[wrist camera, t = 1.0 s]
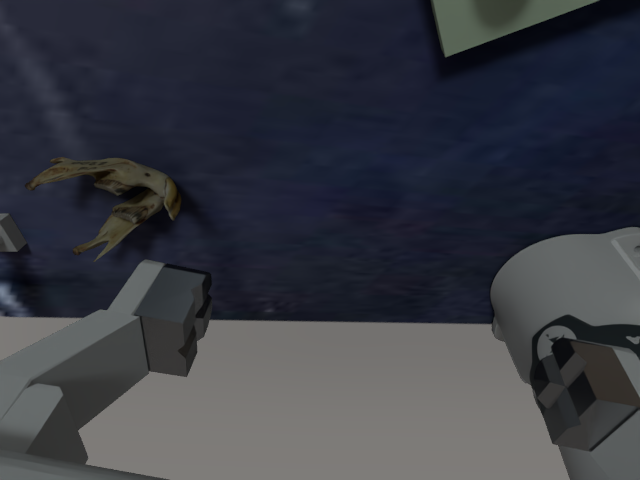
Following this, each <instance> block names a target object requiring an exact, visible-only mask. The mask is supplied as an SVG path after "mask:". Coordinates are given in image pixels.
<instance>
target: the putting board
mask: <svg viewBox="0 0 640 480" xmlns="http://www.w3.org/2000/svg"><path fill="white" fill-rule="evenodd" d="M430 1H431V5H432V10H433V14H434V19H435V23H436V28H437V32H438V37H439V41H440V46H441V50H442V51H443V53H444V55H445V57H448V56H450V55H453V54H456V53H458V52H461V51H464V50H467V49H469V48H472V47H475V46H477V45H480V44H483V43H485V42H488V41H491V40H494V39H496V38H499V37H502V36H504V35H507V34H510V33H513V32H515V31H518V30H521V29H523V28H526V27H529V26H531V25H534V24H537V23H540V22H542V21H545V20H548V19H550V18H553V17H556V16H559V15H561V14H564V13H567V12H569V11H572V10H575V9H577V8H580V7H583V6H586V5H588V4H591V3H594V2H596V1H599V0H430Z"/></svg>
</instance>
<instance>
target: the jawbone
mask: <svg viewBox="0 0 640 480" xmlns="http://www.w3.org/2000/svg"><path fill="white" fill-rule="evenodd" d="M50 162H51V163H58V164H56V165H54V166H52V167H51V168H49V169H47V170H45V171H43V172H42V173H40V174H39V175H38V176H36V177H34V178H33V180H31V181H30V182H29V183H26V185H25V187H26V188H27V189H28V190H35V187H37V186H39V185H40V184H44V183H50V182H55V181H60V180H64V179H68V178H73V177H77V176H81V175H85V174H86V175H91V176H93V177H94V178H95V179H96V182H95V183H94V185H95V187H96V188H99V189H104V190H107V191H109V192H111V193H114V194H115V195H117V196H118V195H121V194H123V193H125V192H127V191H128V190H130V189H131V188H133V187H136V186H145V187H148V188H147V189H146V190H145V191H143V192H142V193H140V194H138V195H137V196H135V197H134V198H132V199H130V200H129V201H126V202H124V203H122V204H119V205H116V206H115V207H113V211H112V215H111V216H110V217H109V218H108V219H107V221H106V222H105V224H104V225H103V227H102V228H101V229H100V230H99V235H98V236H97V237H96V238H95V239H94V240H92V241H90V242H88V243H85V244H82V245H79V246H77V247H75V248H74V249H73V253H74V254H75V255H79V254H80V253H81V252H84V251H86V250H89V249H93V248H95V247H97V246H100V245H102V244H104V243H106V242H108V241H109V243H108V245H107V246H106V248H105V249H104V250H103V251H102V252H101V253H100V254H99V255H98V257H97V258H96V260H97V259H98V258H100V257H101V256H102V255H104V254H105V253H107V252H108V251H109V250H111V249H112V248H113V247H115V246H116V245H118V244H119V243H120V242H121V241H122V240H123V238H125V237H126V236H127V235H128V234H129V233H130V232H131V231H132V230H133V229H134V228H136V227H137V226H139V225H140V224H141V223H143V222H144V221H145V220H147V219H148V218H149V217H150V216H152V215H154V214H155V213H157V212H159V211H160V210H161V209H162V207H163V206H164V205H165V207H166V209H167V210H168V212H169V216H170V218H171V219H172V220H175V217H176V216H177V214H178V212H179V210H180V205H181V195H180V193H179V192H178V190H177V188H176V186H175V184H174V182H173V180H172V179H171V178H170V177H169V176H167V175H166V174H164V173H162V172H160V171H158V170H155V169H153V168H150V167H147V166H144V165H141V164H138V163H136V162H133V161H130V160H127V159H122V158H108V159H104V160H89V161H75V160H71V159H68V158H64V157H61V158H56V159H52V160H50ZM57 177H59V178H57ZM54 178H57V179H54ZM51 179H53V180H51ZM48 180H49V181H48ZM45 181H46V182H45ZM96 260H94V262H95V261H96Z"/></svg>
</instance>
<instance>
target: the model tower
mask: <svg viewBox="0 0 640 480" xmlns="http://www.w3.org/2000/svg"><path fill="white" fill-rule="evenodd" d="M26 243H27V242H26V240H25V239H24V237H23V235H22V234H21V232H20V231H19V229H18V227H17V226H16V224H15V222H14V221H13V219H12V217H11V216H10V214H0V252H18V251H19V250H20V249H21V248H22V247H23V246H24V245H25V244H26Z"/></svg>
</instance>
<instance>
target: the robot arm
mask: <svg viewBox="0 0 640 480" xmlns="http://www.w3.org/2000/svg"><path fill="white" fill-rule="evenodd" d="M637 246H638V247H637ZM635 247H636V248H635ZM211 285H212V280H211V274H210V273H209V272H206V271H201V270H196V269H191V268H186V267H182V266H177V265H172V264H165V263H160V262H156V261H151V260H144V261H142V262H141V263H140V264H139V265H138V266H137V268H136V269H135V271H134V272H133V274H132V275H131V277H130V278H129V279H128V281H127V282H126V284H125V285H124V287H123V288H122V290H121V291H120V292H119V294H118V295H117V297H116V298H115V300H114V301H113V303H112V304H111V305H110V307H109V308H108V310H98V311H96V312H94V313H92V314H90V315H88V316H87V317H85V318H83V319H81V320H79V321H77V322H75V323H73V324H71V325H69V326H67V327H65V328H63V329H61V330H59V331H57V332H56V333H54V334H52V335H50V336H48V337H46V338H44V339H42V340H40V341H38V342H36V343H34V344H32V345H30V346H28V347H26V348H24V349H22V350H20V351H18V352H17V353H15V354H13V355H11V356H9V357H7V358H5V359H3V360H1V361H0V480H168V479H163V478H157V477H152V476H146V475H141V474H135V473H129V472H123V471H118V470H113V469H107V468H102V467H96V466H91V465H85V463H86V461H87V460H88V456H87V453H86V450H85V447H84V445H83V442H82V440H81V437H80V435H79V432H78V430H79V429H80V428H81V427H83V426H84V425H85V424H87V423H88V422H89V421H90V420H92V419H93V418H94V417H95V416H97V415H98V414H99V413H100V412H101V411H103V410H104V409H105V408H106V407H108V406H109V405H110V404H111V403H113V402H114V401H115V400H116V399H118V397H120V396H121V395H123V394H124V393H125V392H126V391H128V390H129V389H130V388H131V387H132V386H134V385H135V384H136V383H137V382H139V381H140V380H141V379H143V378H144V377H145V376H146V375H148V374H149V371H151V372H158V373H165V374H171V375H177V376H184V377H187V375H188V373H189V371H190V368H191V366H192V363H193V361H194V359H195V356H196V354H197V341H198V340H200V339H201V338H203V337H204V335H205V332H206V330H207V327H208V323H209V320H210V316H211V309H212V298H211V296H210V295H209V294H208V292H209V290H210V287H211ZM490 297H491V303H492V306H493V309H494V313H495V317H494V320H493V323H492V331H493V334H494V336H495V338H497V339H498V340H501V341H504V342H505V343H506V346H507V348H508V350H509V353H510V355H511V357H512V360H513V362H514V364H515V367H516V369H517V371H518V373H519V375H520V378H521V379H522V380H523V381H524V382H525V383H528V384H530V385H531V386H532V389H533V394H534V398H535V401H536V404H537V405H538V407H539V408H540V410H541V413H542V415H543V417H544V420H545V423H546V426H547V429H548V432H549V435H550V438H551V440H552V443H553V444H556V445H558V446H559V449H560V452H561V455H562V458H563V461H564V464H565V466H566V469H567V472H568V475H569V478H570V480H640V228H638V227H629V228H624V229H619V230H616V231H612V232H608V233H605V234H573V235H564V236H559V237H554V238H550V239H547V240H544V241H541V242H538V243H536V244H534V245H531V246H529V247H527V248H526V249H524V250H522V251H520V252H519V253H517V254H516V255H515V256H513V257H512V258H511V259H510V260H509V261H507V262H506V263H505V264H504V265H503V267H502V268H501V269H500V270H499V272H498V273H497V275H496V276H495V278H494V281H493V283H492V286H491V292H490Z"/></svg>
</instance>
